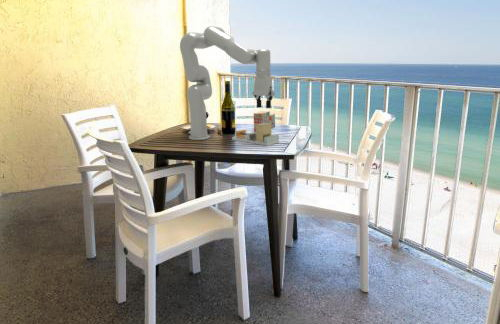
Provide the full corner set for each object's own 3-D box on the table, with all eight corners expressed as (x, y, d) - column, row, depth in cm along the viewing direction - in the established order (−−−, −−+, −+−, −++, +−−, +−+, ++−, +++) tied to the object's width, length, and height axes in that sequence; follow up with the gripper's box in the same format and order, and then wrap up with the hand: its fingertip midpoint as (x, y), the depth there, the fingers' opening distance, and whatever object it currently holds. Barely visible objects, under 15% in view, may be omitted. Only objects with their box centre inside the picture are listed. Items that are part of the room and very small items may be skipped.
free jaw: (233, 136, 218) (233, 131, 217) (245, 134, 224) (245, 129, 224) (250, 139, 209) (250, 134, 208) (262, 136, 216) (262, 131, 215)
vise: (232, 139, 219) (231, 132, 218) (244, 137, 226) (244, 129, 225) (267, 145, 201) (267, 137, 200) (279, 142, 208) (278, 134, 207)
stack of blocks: (266, 126, 261) (266, 109, 257) (275, 127, 258) (275, 109, 255) (253, 132, 242) (253, 113, 239) (262, 132, 239) (262, 113, 236)
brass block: (256, 140, 208) (256, 124, 205) (264, 138, 213) (264, 122, 210) (263, 141, 204) (262, 125, 202) (271, 139, 209) (271, 123, 207)
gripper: (246, 73, 202) (247, 107, 207) (271, 74, 191) (271, 109, 195) (256, 73, 207) (256, 106, 212) (280, 73, 196) (280, 108, 201)
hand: (263, 107), depth 204 cm, fingers open, 6 cm apart
